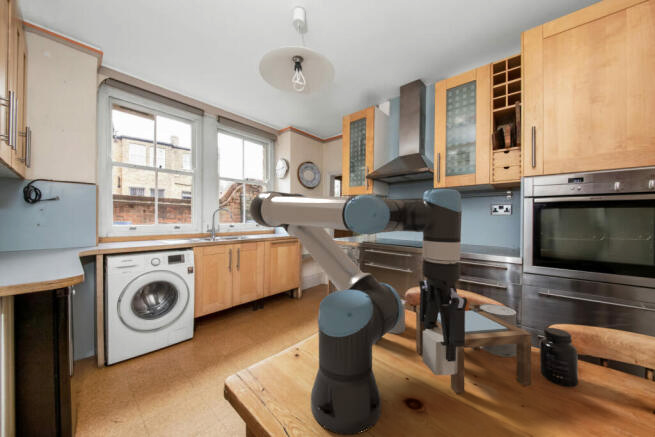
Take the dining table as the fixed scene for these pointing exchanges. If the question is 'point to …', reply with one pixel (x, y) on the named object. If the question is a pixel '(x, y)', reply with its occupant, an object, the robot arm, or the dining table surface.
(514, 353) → the short grey cylinder
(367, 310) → the robot arm
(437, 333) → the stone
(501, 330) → the trapdoor
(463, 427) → the dining table surface
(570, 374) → the supplement bottle
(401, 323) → the mug
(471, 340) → the hatch frame
